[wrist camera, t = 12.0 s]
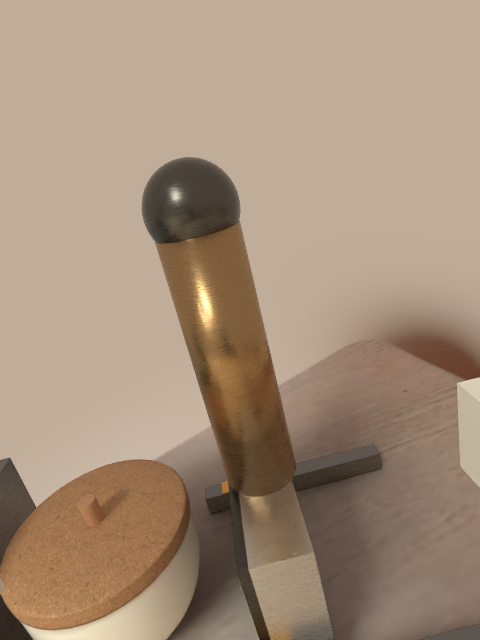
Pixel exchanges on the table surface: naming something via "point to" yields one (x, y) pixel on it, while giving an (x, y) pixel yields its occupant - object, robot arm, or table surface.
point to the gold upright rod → (238, 392)
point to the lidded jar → (105, 557)
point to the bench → (16, 505)
